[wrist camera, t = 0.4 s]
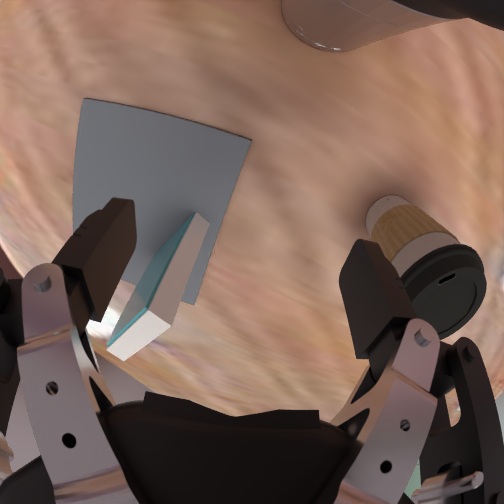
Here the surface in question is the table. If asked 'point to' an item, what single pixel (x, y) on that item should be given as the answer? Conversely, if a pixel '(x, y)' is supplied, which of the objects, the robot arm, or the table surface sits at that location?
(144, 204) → the mat
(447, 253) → the coffee cup
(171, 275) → the tile
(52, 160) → the table surface
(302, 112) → the table surface
